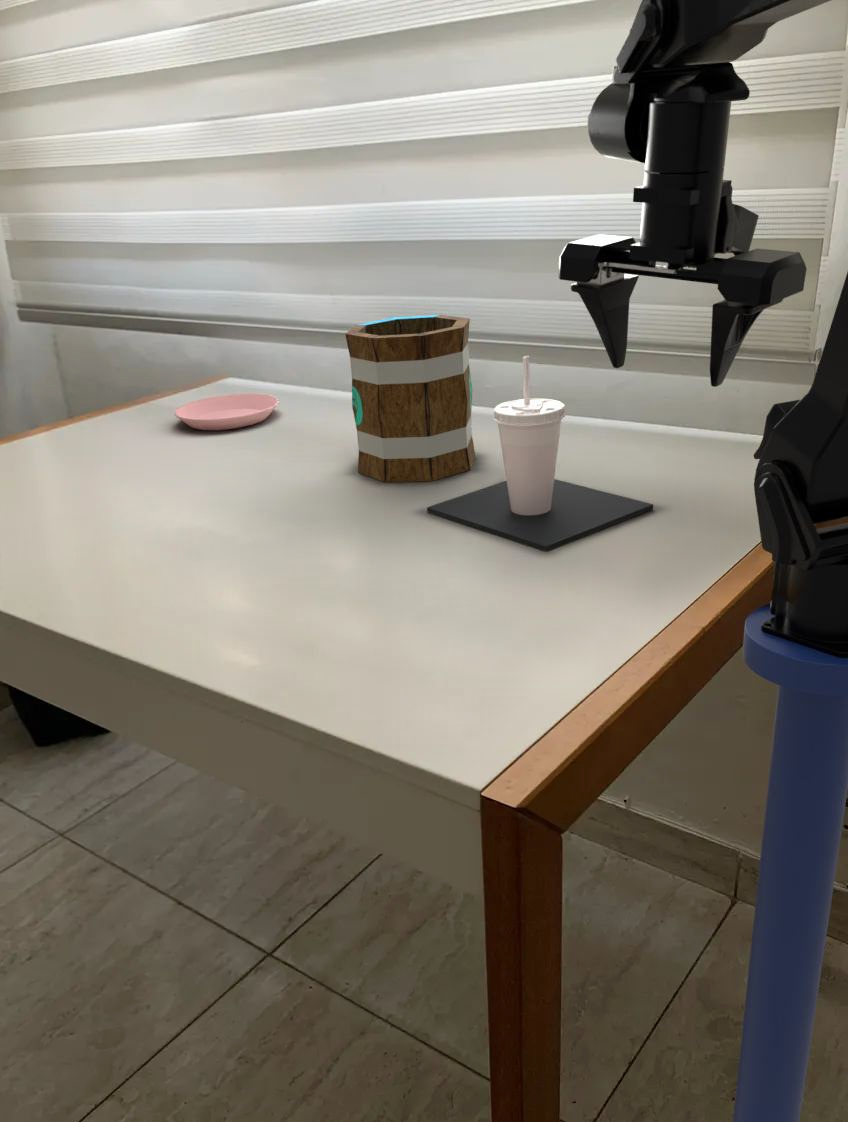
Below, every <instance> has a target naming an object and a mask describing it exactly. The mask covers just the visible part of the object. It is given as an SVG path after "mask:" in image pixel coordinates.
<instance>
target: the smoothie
mask: <svg viewBox="0 0 848 1122" xmlns="http://www.w3.org/2000/svg"><path fill="white" fill-rule="evenodd" d="M522 376H523V377H522V379H523V383H522V384H523V398H520V399H514V400H508V401H505V402H502V403H500V404H498V405H496V406H495V407H494V409H493V421H494V422H495V423H496V424H497V429H498V435H499V441H500V448H501V453H502V459H503V466H504V472H505V481H507V486H508V493H509V499H510V506H511V511H512V512H513V513H516V514H519V515H539V514H543V513H546V512H548V511H549V510H550V509H551V502H552V494H553V485H554V479H555V476H556V467H557V459H558V450H559V444H560V437H561V436H560V434H561V424H562V420H564V418H565V417H566V412H565V406H566V405H565V404H564V403H563V402H561V401H559V400H557V399H551V398H539V397H537V398H536V397H535V398H534V397H533V398H531V382H530V381H531V380H530V377H531V376H530V356H529V355H524V356H522Z"/></svg>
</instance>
